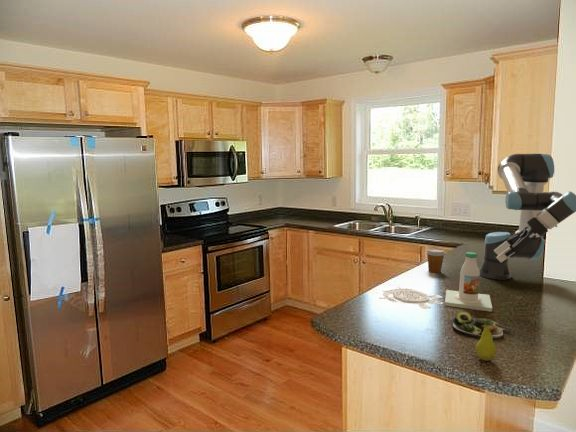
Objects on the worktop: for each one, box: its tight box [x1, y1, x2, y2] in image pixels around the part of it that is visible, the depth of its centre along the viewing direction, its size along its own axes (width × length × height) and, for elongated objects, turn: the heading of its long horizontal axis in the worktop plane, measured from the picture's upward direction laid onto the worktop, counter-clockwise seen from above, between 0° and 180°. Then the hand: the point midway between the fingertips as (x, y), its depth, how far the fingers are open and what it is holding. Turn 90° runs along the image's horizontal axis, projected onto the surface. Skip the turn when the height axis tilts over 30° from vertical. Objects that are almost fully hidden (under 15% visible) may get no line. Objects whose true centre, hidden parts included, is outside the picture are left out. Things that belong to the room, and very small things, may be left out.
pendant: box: [379, 286, 444, 309], centre depth 183 cm, size 21×28×1 cm
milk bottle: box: [458, 251, 481, 300], centre depth 176 cm, size 8×8×20 cm
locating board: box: [444, 289, 493, 313], centre depth 177 cm, size 18×18×2 cm
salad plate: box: [451, 310, 512, 339], centre depth 148 cm, size 19×18×5 cm
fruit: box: [475, 320, 497, 362], centre depth 125 cm, size 6×6×12 cm
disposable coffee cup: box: [426, 248, 446, 274], centre depth 225 cm, size 10×10×12 cm
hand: (497, 256), depth 171 cm, fingers open, 13 cm apart
